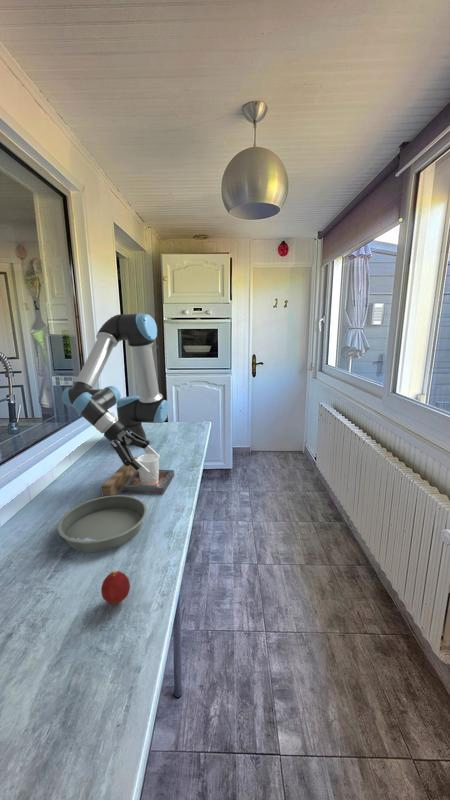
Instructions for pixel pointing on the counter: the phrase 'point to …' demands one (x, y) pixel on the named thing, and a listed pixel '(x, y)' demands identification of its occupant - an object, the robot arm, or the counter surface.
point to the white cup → (152, 465)
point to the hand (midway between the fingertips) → (152, 466)
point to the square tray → (160, 488)
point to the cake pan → (103, 522)
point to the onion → (115, 587)
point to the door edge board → (117, 480)
